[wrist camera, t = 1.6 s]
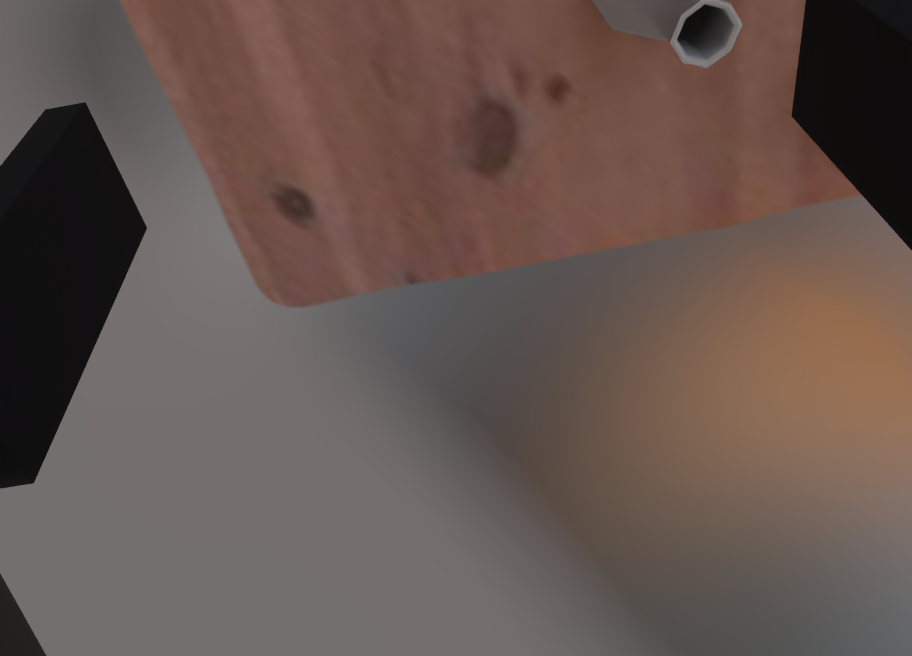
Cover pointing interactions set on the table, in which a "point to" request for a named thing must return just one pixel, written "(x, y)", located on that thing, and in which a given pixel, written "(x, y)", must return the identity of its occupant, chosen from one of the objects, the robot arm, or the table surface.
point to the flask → (678, 25)
